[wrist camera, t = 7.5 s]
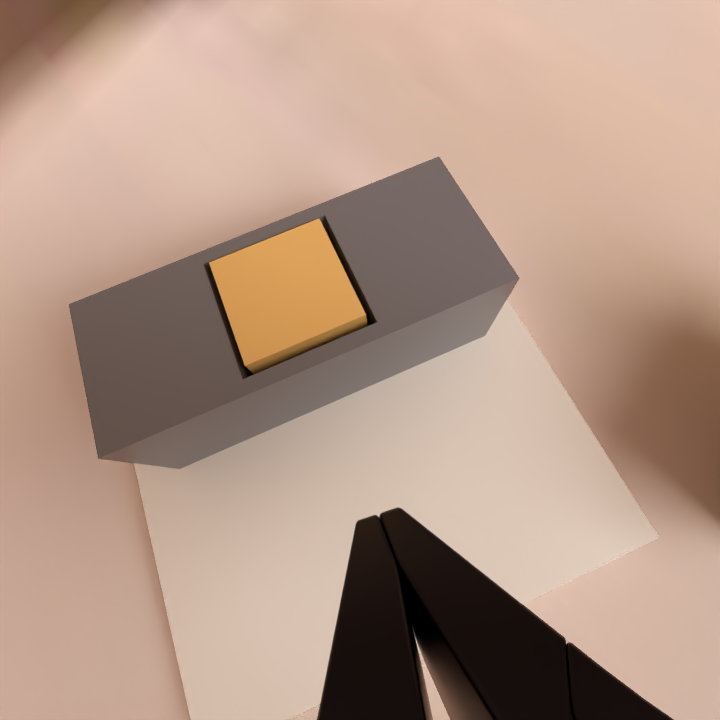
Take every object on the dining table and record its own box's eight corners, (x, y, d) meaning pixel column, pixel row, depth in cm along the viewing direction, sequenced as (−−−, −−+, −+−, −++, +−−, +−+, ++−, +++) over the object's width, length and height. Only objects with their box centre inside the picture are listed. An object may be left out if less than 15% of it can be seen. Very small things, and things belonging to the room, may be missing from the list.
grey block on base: (638, 534, 18) (785, 556, 11) (216, 739, 16) (99, 903, 10) (445, 223, 24) (466, 118, 17) (125, 355, 22) (15, 297, 16)
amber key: (370, 344, 17) (365, 314, 14) (269, 387, 17) (244, 365, 14) (330, 260, 18) (319, 218, 16) (237, 299, 18) (209, 262, 15)
